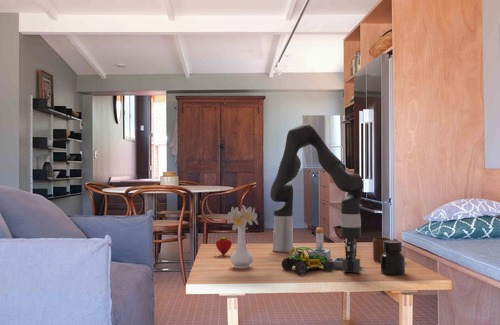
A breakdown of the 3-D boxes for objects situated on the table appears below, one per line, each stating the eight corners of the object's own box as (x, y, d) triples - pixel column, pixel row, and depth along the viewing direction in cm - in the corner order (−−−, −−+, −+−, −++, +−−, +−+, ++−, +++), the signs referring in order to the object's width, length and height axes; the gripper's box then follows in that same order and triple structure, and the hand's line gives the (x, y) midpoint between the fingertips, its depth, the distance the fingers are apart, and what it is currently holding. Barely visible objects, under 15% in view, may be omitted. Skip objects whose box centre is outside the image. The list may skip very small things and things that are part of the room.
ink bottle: (405, 271, 179) (404, 240, 179) (407, 276, 170) (407, 243, 171) (379, 270, 181) (378, 239, 181) (380, 275, 173) (379, 243, 173)
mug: (395, 258, 206) (395, 237, 207) (404, 261, 199) (403, 239, 199) (370, 259, 204) (370, 237, 204) (377, 262, 197) (377, 240, 197)
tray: (331, 268, 185) (331, 261, 185) (335, 264, 193) (335, 257, 193) (357, 270, 181) (356, 262, 181) (359, 266, 189) (359, 258, 190)
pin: (315, 260, 203) (315, 228, 203) (316, 258, 206) (316, 227, 206) (322, 260, 202) (322, 228, 202) (324, 259, 205) (323, 227, 205)
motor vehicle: (334, 271, 182) (333, 244, 182) (293, 276, 172) (293, 248, 173) (316, 266, 192) (316, 240, 192) (276, 271, 183) (276, 244, 183)
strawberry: (232, 255, 214) (232, 234, 215) (216, 256, 214) (216, 234, 214) (231, 253, 220) (231, 232, 221) (215, 254, 219) (215, 233, 220)
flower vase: (226, 272, 178) (225, 207, 179) (227, 263, 197) (226, 204, 197) (259, 272, 179) (259, 207, 179) (257, 263, 197) (257, 204, 198)
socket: (308, 260, 202) (308, 251, 202) (312, 257, 209) (312, 248, 209) (326, 261, 199) (326, 252, 199) (330, 258, 206) (330, 249, 206)
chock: (358, 272, 174) (358, 260, 174) (342, 271, 176) (342, 259, 177) (360, 270, 178) (359, 258, 178) (344, 269, 180) (344, 257, 180)
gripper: (358, 227, 170) (358, 274, 169) (363, 223, 183) (363, 267, 183) (337, 227, 172) (338, 273, 172) (344, 223, 186) (344, 265, 185)
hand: (351, 269), depth 177 cm, fingers closed on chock, 4 cm apart
